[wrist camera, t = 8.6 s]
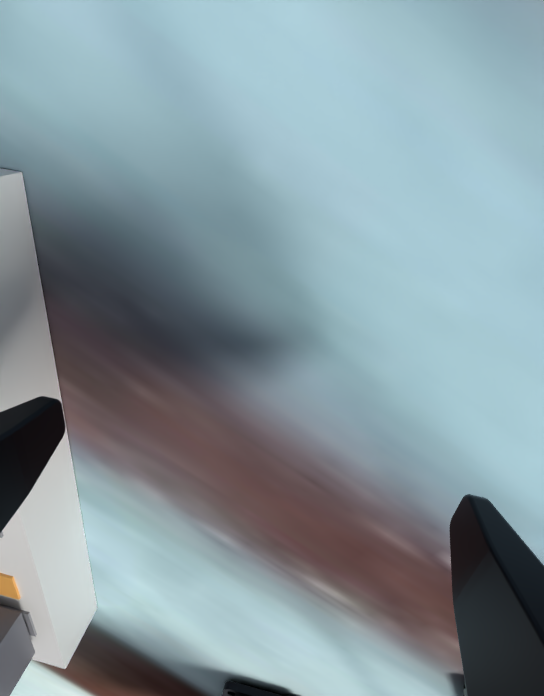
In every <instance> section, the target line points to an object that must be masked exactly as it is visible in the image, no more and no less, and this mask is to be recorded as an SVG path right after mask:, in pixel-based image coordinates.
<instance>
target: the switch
mask: <svg viewBox="0 0 544 696" xmlns="http://www.w3.org/2000/svg"><path fill="white" fill-rule="evenodd" d="M34 654H35V650H34V647H33V644H32V641H31V639H30V636H29V633H28V630H27V627H26V625H25V622H24V619H23V616H22V613H21V612H18V611H14V610H11V609H7V608H4V607H0V696H10V694H11V692H12V691H13V689H14V687H15V686H16V684H17V682H18V681H19V679H20V677H21V676H22V674H23V672H24V671H25V669H26V667H27V666H28V664H29V662H30V661H31V659H32V657H33V656H34Z"/></svg>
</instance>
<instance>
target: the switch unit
mask: <svg viewBox="0 0 544 696" xmlns="http://www.w3.org/2000/svg"><path fill="white" fill-rule="evenodd" d="M40 396H46V397H50V398H55V399H58V400H59V401H60V402H61V403H62V400H61V394H60V388H59V382H58V377H57V371H56V365H55V359H54V353H53V348H52V342H51V336H50V330H49V325H48V319H47V313H46V307H45V302H44V296H43V290H42V284H41V278H40V273H39V267H38V261H37V255H36V250H35V244H34V238H33V232H32V227H31V221H30V215H29V209H28V203H27V198H26V192H25V186H24V180H23V175H22V172H19V171H13V170H7V169H2V168H0V412H2V411H5V410H7V409H9V408H12V407H14V406H17V405H19V404H22V403H24V402H27V401H29V400H32V399H34V398H37V397H40ZM62 408H63V405H62ZM63 414H64V411H63ZM64 420H65V417H64ZM65 426H66V423H65ZM0 607H4V608H7V609H11V610H14V611H18V612H21V613H22V616H23V619H24V622H25V625H26V627H27V630H28V633H29V636H30V639H31V641H32V644H33V647H34V650H35V654H34V656H33V657H32V659H33V660H36V661H39V662H43V663H46V664H50V665H53V666H56V667H60V668H63V669H66V667H67V665H68V663H69V661H70V660H71V658H72V656H73V654H74V652H75V650H76V648H77V646H78V644H79V642H80V641H81V639H82V637H83V635H84V633H85V631H86V629H87V627H88V625H89V623H90V622H91V620H92V618H93V616H94V614H95V612H96V610H97V608H98V607H97V602H96V596H95V590H94V584H93V578H92V573H91V567H90V561H89V555H88V550H87V544H86V538H85V532H84V527H83V521H82V515H81V509H80V503H79V498H78V492H77V486H76V480H75V475H74V469H73V463H72V457H71V452H70V446H69V440H68V434H67V428H66V427H65V433H64V436H63V438H62V440H61V441H60V443H59V445H58V446H57V448H56V450H55V451H54V453H53V455H52V456H51V458H50V460H49V461H48V463H47V465H46V467H45V468H44V470H43V472H42V473H41V475H40V477H39V478H38V480H37V482H36V483H35V485H34V487H33V488H32V490H31V491H30V493H29V495H28V496H27V497H26V499H25V500H24V502H23V503H22V505H21V506H20V507H19V509H18V510H17V511H16V513H15V514H14V515H13V517H12V518H11V519H10V521H9V522H8V524H7V525H6V526H5V528H4V529H3V530H2V532H1V533H0Z"/></svg>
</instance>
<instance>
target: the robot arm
mask: <svg viewBox="0 0 544 696" xmlns="http://www.w3.org/2000/svg"><path fill="white" fill-rule="evenodd" d="M65 427H66V426H65V420H64V414H63V408H62V403H61V402H60V401H59V400H58V399H55V398H50V397H46V396H40V397H37V398H34V399H32V400H29V401H27V402H24V403H22V404H19V405H17V406H14V407H12V408H9V409H7V410H5V411H2V412H0V533H1V532H2V530H3V529H4V528H5V526H6V525H7V524H8V522H9V521H10V519H11V518H12V517H13V515H14V514H15V513H16V511H17V510H18V509H19V507H20V506H21V505H22V503H23V502H24V500H25V499H26V497H27V496H28V495H29V493H30V491H31V490H32V488H33V487H34V485H35V483H36V482H37V480H38V478H39V477H40V475H41V473H42V472H43V470H44V468H45V467H46V465H47V463H48V461H49V460H50V458H51V456H52V455H53V453H54V451H55V450H56V448H57V446H58V445H59V443H60V441H61V440H62V438H63V436H64V433H65ZM450 548H451V570H452V592H453V605H454V613H455V620H456V626H457V633H458V639H459V646H460V652H461V658H462V665H463V671H464V678H465V684H466V690H467V696H544V565H543V564H542V563H541V562H540V560H539V559H538V558H537V557H536V556H535V555H534V553H533V552H532V551H531V550H530V549H529V547H528V546H527V545H526V544H525V543H524V541H523V540H522V539H521V538H520V537H519V535H518V534H517V533H516V532H515V531H514V529H513V528H512V527H511V526H510V525H509V524H508V522H507V521H506V520H505V519H504V518H503V516H502V515H501V514H500V513H499V512H498V510H497V509H496V508H495V507H494V506H493V504H492V503H491V502H490V501H489V500H488V499H486V498H483V497H479V496H475V495H470V494H467V495H465V496H464V497H463V499H462V500H461V502H460V504H459V506H458V508H457V509H456V511H455V513H454V515H453V517H452V519H451V522H450ZM222 696H282V695H278V694H275V693H271V692H268V691H264V690H261V689H257V688H254V687H250V686H247V685H243V684H240V683H236V682H232V681H227V682H225V685H224V689H223V695H222Z"/></svg>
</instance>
